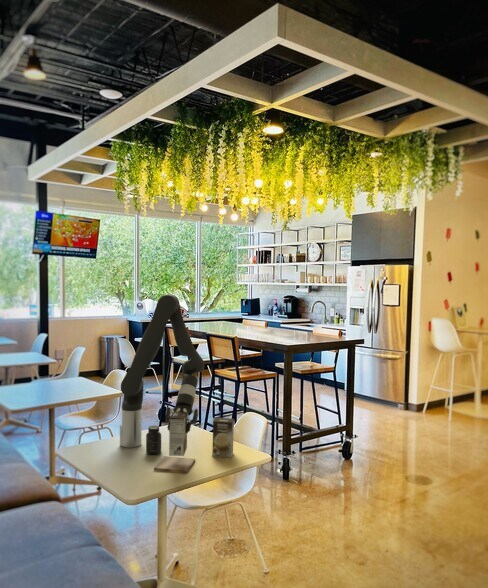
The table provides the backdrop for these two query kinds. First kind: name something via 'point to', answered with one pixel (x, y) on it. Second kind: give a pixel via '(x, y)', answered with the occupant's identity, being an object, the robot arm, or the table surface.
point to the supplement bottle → (153, 441)
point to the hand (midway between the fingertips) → (178, 431)
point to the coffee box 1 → (177, 434)
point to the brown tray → (174, 464)
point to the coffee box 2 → (223, 437)
